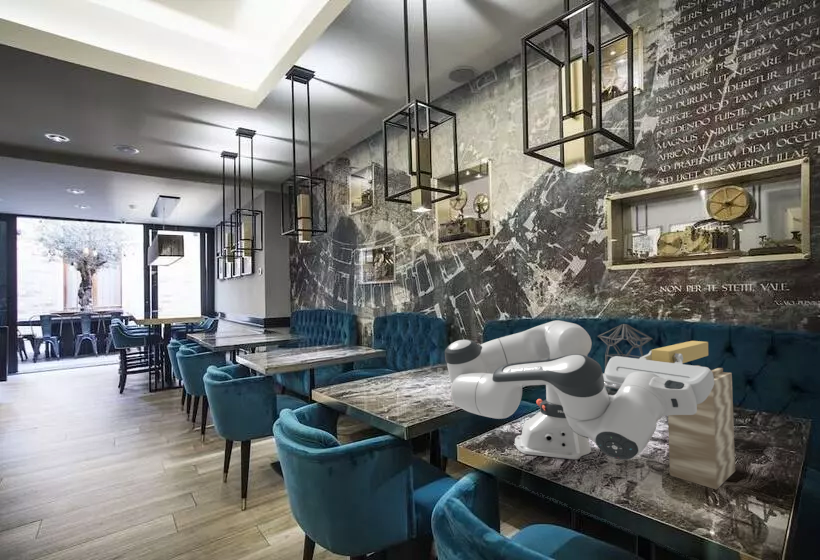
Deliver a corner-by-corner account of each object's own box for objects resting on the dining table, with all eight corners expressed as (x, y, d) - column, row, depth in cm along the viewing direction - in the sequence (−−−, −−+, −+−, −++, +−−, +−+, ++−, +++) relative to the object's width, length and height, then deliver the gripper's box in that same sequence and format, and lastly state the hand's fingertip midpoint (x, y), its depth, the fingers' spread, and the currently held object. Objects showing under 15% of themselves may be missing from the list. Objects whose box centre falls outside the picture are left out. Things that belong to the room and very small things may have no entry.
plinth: (716, 489, 98) (712, 377, 99) (669, 475, 106) (666, 371, 107) (735, 471, 108) (731, 369, 109) (691, 459, 116) (688, 364, 117)
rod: (669, 367, 88) (668, 351, 89) (651, 365, 91) (651, 349, 91) (708, 355, 105) (708, 341, 105) (692, 353, 107) (692, 340, 107)
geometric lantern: (596, 407, 169) (594, 323, 171) (625, 404, 174) (624, 322, 176) (626, 417, 154) (624, 325, 156) (658, 414, 159) (655, 324, 161)
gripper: (599, 395, 94) (623, 359, 101) (704, 416, 78) (723, 372, 85) (592, 373, 92) (616, 338, 99) (698, 390, 76) (717, 348, 83)
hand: (666, 354), depth 92 cm, fingers closed on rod, 3 cm apart
